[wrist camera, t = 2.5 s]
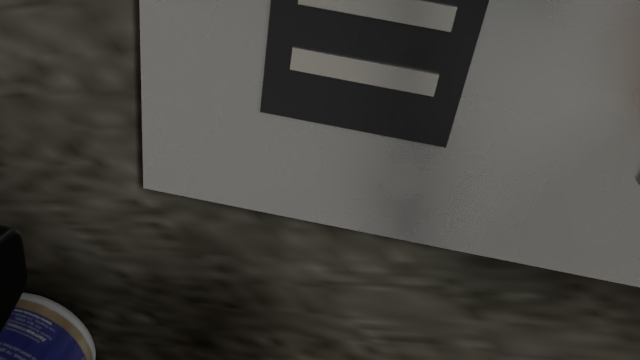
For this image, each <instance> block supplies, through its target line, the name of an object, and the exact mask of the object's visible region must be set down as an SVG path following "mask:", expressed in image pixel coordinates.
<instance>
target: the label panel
mask: <svg viewBox="0 0 640 360" xmlns="http://www.w3.org/2000/svg"><path fill="white" fill-rule="evenodd" d="M139 6H140V53H141V100H142V146H143V188H145V189H150V190H155V191H160V192H165V193H170V194H175V195H180V196H185V197H190V198H195V199H200V200H205V201H210V202H215V203H220V204H225V205H230V206H235V207H240V208H245V209H250V210H255V211H260V212H265V213H270V214H275V215H280V216H285V217H290V218H295V219H300V220H305V221H310V222H315V223H320V224H325V225H330V226H335V227H340V228H345V229H350V230H355V231H360V232H365V233H370V234H375V235H380V236H385V237H390V238H395V239H400V240H405V241H410V242H415V243H420V244H425V245H430V246H435V247H440V248H445V249H450V250H455V251H460V252H465V253H470V254H475V255H480V256H485V257H490V258H495V259H500V260H505V261H510V262H515V263H520V264H525V265H530V266H535V267H540V268H545V269H550V270H555V271H560V272H565V273H570V274H575V275H580V276H585V277H590V278H595V279H600V280H605V281H610V282H615V283H620V284H625V285H630V286H635V287H640V0H139Z"/></svg>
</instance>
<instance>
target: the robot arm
mask: <svg viewBox="0 0 640 360" xmlns="http://www.w3.org/2000/svg"><path fill="white" fill-rule="evenodd" d="M26 282H27V269H26V262H25V256H24V249H23V242H22V237H21V234H20V233H19V231H18V230H17V229H15V228H12V227H7V226H3V225H0V334H1V332H2V330H3V328H4V326H5V325H6V323H7V321H8V319H9V317H10V315H11V314H12V312H13V310H14V308H15V306H16V304H17V303H18V301H19V299H20V297H21V295H22V293H23V291H24V289H25V286H26Z"/></svg>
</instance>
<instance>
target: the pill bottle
mask: <svg viewBox="0 0 640 360" xmlns="http://www.w3.org/2000/svg"><path fill="white" fill-rule="evenodd" d="M95 357H96V351H95V345H94V342H93V339H92V336H91V334H90V332H89V331H88V329H87V328H86V326H85V325H84V324H83V323H82V322H81V320H80V319H79V318H78V317H77V316H75V315H74V314H73V313H72V312H71V311H69V310H68V309H67V308H65V307H64V306H62V305H60V304H58V303H57V302H55V301H52V300H50V299H48V298H45V297H42V296H39V295H35V294H30V293H22V295H21V297H20V299H19V301H18V303H17V304H16V306H15V308H14V310H13V312H12V314H11V315H10V317H9V319H8V321H7V323H6V325H5V326H4V328H3V330H2V332H1V334H0V360H95Z"/></svg>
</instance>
